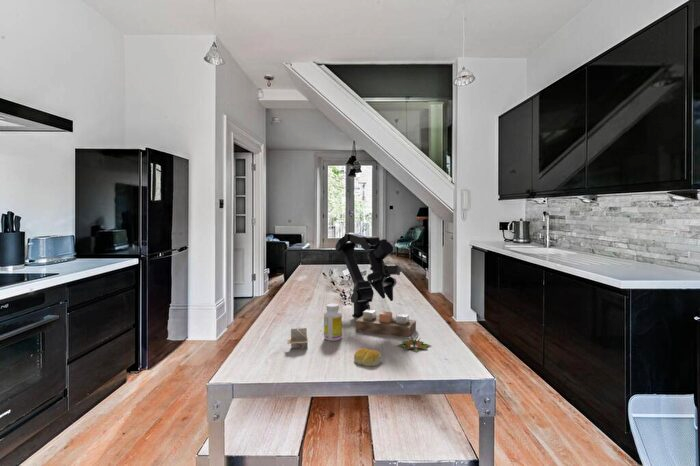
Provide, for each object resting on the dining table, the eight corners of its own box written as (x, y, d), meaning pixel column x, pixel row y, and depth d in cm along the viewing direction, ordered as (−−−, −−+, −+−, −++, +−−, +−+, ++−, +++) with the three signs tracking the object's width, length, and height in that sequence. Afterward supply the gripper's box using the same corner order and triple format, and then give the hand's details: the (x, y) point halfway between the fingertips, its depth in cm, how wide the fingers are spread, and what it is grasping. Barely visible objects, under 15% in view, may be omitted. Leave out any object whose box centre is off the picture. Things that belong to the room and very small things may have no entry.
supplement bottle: (344, 336, 149) (344, 303, 148) (338, 342, 142) (337, 307, 141) (328, 334, 151) (327, 302, 150) (321, 340, 144) (321, 306, 143)
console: (355, 330, 156) (355, 320, 155) (365, 323, 165) (365, 314, 164) (408, 338, 146) (408, 327, 146) (415, 330, 155) (416, 320, 155)
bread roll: (361, 354, 131) (361, 343, 131) (385, 360, 126) (385, 348, 126) (348, 363, 124) (348, 350, 124) (372, 369, 119) (373, 356, 119)
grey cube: (363, 321, 157) (363, 311, 157) (366, 318, 161) (366, 309, 161) (372, 322, 156) (372, 312, 155) (375, 319, 159) (375, 310, 159)
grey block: (396, 325, 151) (396, 315, 151) (399, 322, 155) (399, 313, 155) (406, 326, 150) (406, 317, 149) (409, 323, 153) (409, 314, 153)
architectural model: (307, 352, 134) (307, 331, 134) (287, 353, 133) (287, 332, 133) (307, 348, 138) (307, 327, 137) (287, 349, 137) (287, 328, 136)
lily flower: (437, 347, 138) (438, 334, 138) (417, 356, 130) (418, 343, 130) (410, 339, 147) (410, 327, 147) (390, 347, 139) (390, 334, 138)
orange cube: (379, 323, 154) (379, 313, 154) (382, 320, 158) (382, 311, 158) (388, 324, 153) (388, 315, 152) (392, 321, 156) (392, 312, 156)
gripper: (386, 252, 152) (398, 289, 146) (402, 261, 168) (413, 295, 162) (361, 262, 155) (372, 299, 149) (379, 270, 172) (389, 304, 166)
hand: (388, 299), depth 156 cm, fingers open, 9 cm apart
